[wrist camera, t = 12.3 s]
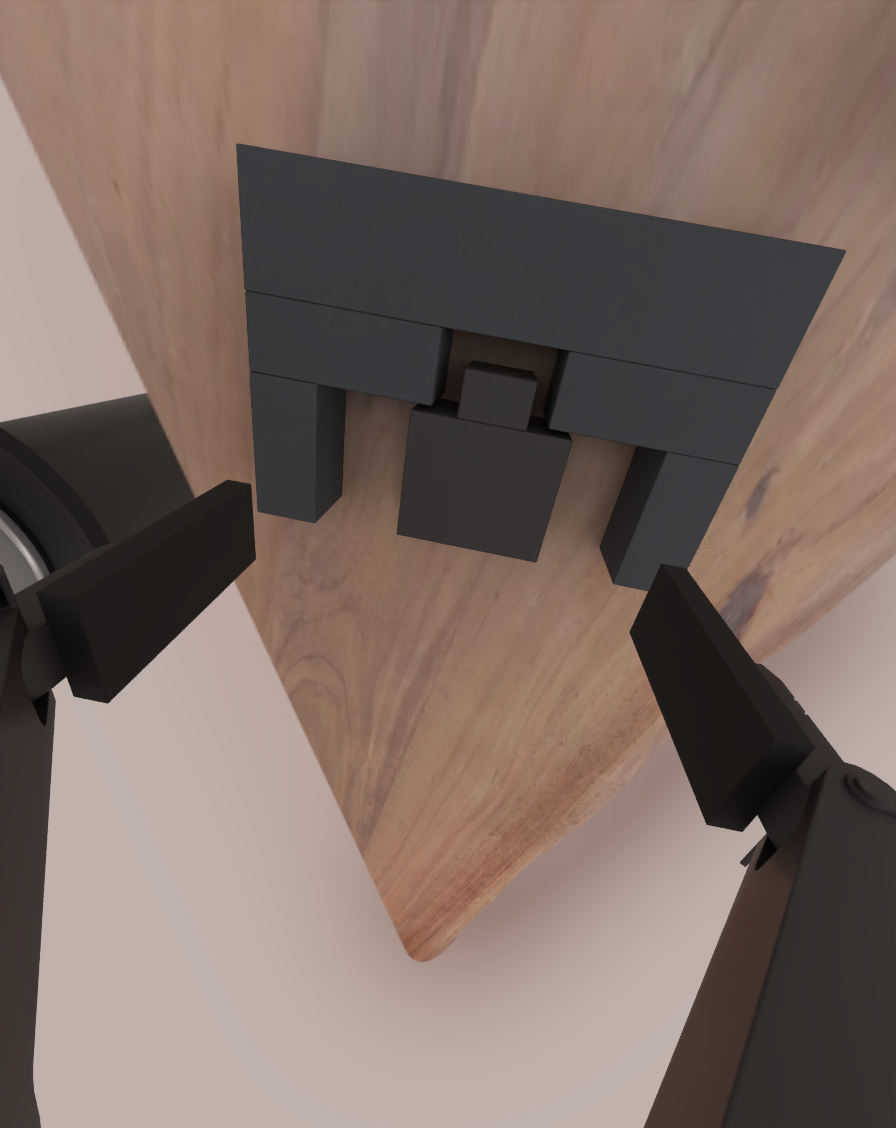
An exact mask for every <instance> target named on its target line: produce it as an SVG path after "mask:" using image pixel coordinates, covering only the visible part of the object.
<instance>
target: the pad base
mask: <svg viewBox="0 0 896 1128" xmlns="http://www.w3.org/2000/svg"><path fill="white" fill-rule="evenodd" d="M236 149H237V166H238V183H239V200H240V217H241V235H242V252H243V269H244V286H245V290H247V291H246V292H245V296H246V314H247V331H248V348H249V365H250V371H251V372H250V388H251V405H252V422H253V440H254V457H255V474H256V491H257V508H258V512H262V513H267V514H272V515H277V516H282V517H287V518H292V519H297V520H301V521H306V522H311V523H316V522H317V521H318V520H319V519H320V518H321V517H322V515H323V514H324V513H325V512H326V511H327V510H328V509H329V508H330V507H331V506H332V505H333V504H334V503H335V502H336V501H337V500H338V499H339V498H340V497H341V496H342V476H343V452H344V429H345V406H346V390H351V391H356V392H361V393H366V394H371V395H377V396H382V397H387V398H392V399H397V400H403V401H408V402H413V403H418V404H423V405H428V406H431V405H432V404H433V403H434V402H435V401H436V400H437V399H438V398H439V397H440V396H441V395H442V394H443V393H444V390H445V383H446V377H447V370H448V363H449V356H450V349H451V343H452V336H453V329H455V330H461V331H466V332H472V333H477V334H482V335H488V336H493V337H498V338H504V339H509V340H514V341H520V342H525V343H530V344H536V345H541V346H547V347H552V348H557V349H559V352H558V355H557V359H556V363H555V367H554V371H553V375H552V379H551V383H550V387H549V390H548V394H547V398H546V402H545V406H544V410H543V412H544V415H545V418H546V421H547V424H548V427H549V429H552V430H558V431H563V432H568V433H573V434H578V435H584V436H589V437H594V438H599V439H604V440H609V441H615V442H620V443H625V444H630V445H635V446H637V449H636V451H635V454H634V457H633V459H632V462H631V465H630V467H629V470H628V473H627V476H626V478H625V481H624V484H623V486H622V489H621V492H620V494H619V497H618V500H617V502H616V505H615V508H614V510H613V513H612V516H611V518H610V521H609V524H608V526H607V529H606V532H605V534H604V537H603V540H602V542H601V545H600V550H601V553H602V556H603V558H604V561H605V563H606V566H607V569H608V571H609V574H610V577H611V579H612V582H613V584H616V585H620V586H625V587H630V588H635V589H640V590H645V591H649V589H650V587H651V585H652V582H653V580H654V578H655V576H656V574H657V572H658V569H659V567H660V565H661V563H662V564H667V565H672V566H677V567H682V568H686V569H688V567H689V565H690V563H691V561H692V559H693V557H694V555H695V553H696V551H697V549H698V547H699V545H700V543H701V541H702V539H703V537H704V535H705V533H706V531H707V529H708V527H709V525H710V523H711V521H712V519H713V517H714V515H715V513H716V511H717V509H718V507H719V505H720V503H721V501H722V499H723V497H724V495H725V493H726V491H727V489H728V487H729V485H730V483H731V481H732V479H733V477H734V475H735V473H736V471H737V469H738V467H739V466H738V465H739V464H740V462H741V460H742V458H743V456H744V454H745V452H746V450H747V448H748V446H749V444H750V442H751V440H752V438H753V436H754V434H755V432H756V430H757V428H758V426H759V424H760V422H761V420H762V418H763V416H764V414H765V412H766V410H767V408H768V406H769V404H770V402H771V400H772V398H773V396H774V394H775V392H776V390H775V389H777V388H778V387H779V385H780V383H781V381H782V379H783V377H784V375H785V373H786V371H787V369H788V367H789V365H790V363H791V361H792V359H793V357H794V355H795V353H796V351H797V349H798V347H799V345H800V343H801V341H802V339H803V337H804V335H805V333H806V331H807V329H808V327H809V325H810V323H811V321H812V319H813V317H814V315H815V313H816V311H817V309H818V307H819V305H820V303H821V301H822V299H823V297H824V295H825V293H826V291H827V289H828V287H829V285H830V283H831V281H832V279H833V277H834V275H835V273H836V271H837V269H838V267H839V265H840V263H841V261H842V259H843V257H844V255H845V253H846V251H845V250H842V249H836V248H830V247H825V246H819V245H813V244H808V243H802V242H796V241H790V240H785V239H779V238H773V237H768V236H762V235H756V234H751V233H745V232H739V231H733V230H728V229H722V228H716V227H711V226H705V225H699V224H694V223H688V222H682V221H677V220H671V219H665V218H659V217H654V216H648V215H642V214H637V213H631V212H625V211H620V210H614V209H608V208H603V207H597V206H591V205H585V204H580V203H574V202H568V201H563V200H557V199H551V198H546V197H540V196H534V195H528V194H523V193H517V192H511V191H506V190H500V189H494V188H489V187H483V186H477V185H472V184H466V183H460V182H454V181H449V180H443V179H437V178H432V177H426V176H420V175H415V174H409V173H403V172H397V171H392V170H386V169H380V168H375V167H369V166H363V165H358V164H352V163H346V162H341V161H335V160H329V159H323V158H318V157H312V156H306V155H301V154H295V153H289V152H284V151H278V150H272V149H266V148H261V147H255V146H249V145H244V144H236Z"/></svg>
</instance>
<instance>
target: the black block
mask: <svg viewBox="0 0 896 1128" xmlns="http://www.w3.org/2000/svg"><path fill="white" fill-rule="evenodd" d="M537 385H538V382H537V380H536V377H535V375H534V372H532V371H527V370H522V369H516V368H511V367H506V366H500V365H495V364H490V363H484V362H479V361H472V362H471V364H470V365H469V366H468V367H467V368H466V369H465V372H464V378H463V384H462V390H461V396H460V402H456V401H450V400H445V399H440V398H438V399H437V400H436V401H435V402H434V403H433V404H432V405H431V406H428V405H423V404H417V405H416V406H415V407H414V408H413V409H412V410H411V413H410V422H409V431H408V440H407V448H406V457H405V466H404V475H403V484H402V493H401V501H400V510H399V519H398V528H397V534H398V535H403V536H408V537H413V538H418V539H423V540H427V541H432V542H437V543H442V544H447V545H452V546H457V547H462V548H467V549H472V550H477V551H482V552H487V553H492V554H497V555H502V556H507V557H512V558H517V559H522V560H527V561H531V562H537V559H538V556H539V552H540V549H541V546H542V542H543V539H544V536H545V532H546V529H547V526H548V522H549V519H550V515H551V512H552V509H553V505H554V502H555V499H556V495H557V492H558V489H559V485H560V482H561V479H562V475H563V472H564V469H565V465H566V462H567V459H568V455H569V452H570V449H571V445H572V439H571V437H570V435H569V433H568V432H563V431H558V430H552V429H549V427H548V424H547V421H546V419H544V418H539V417H534V416H530V414H531V410H532V406H533V402H534V397H535V393H536V389H537Z"/></svg>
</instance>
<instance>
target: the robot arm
mask: <svg viewBox="0 0 896 1128" xmlns="http://www.w3.org/2000/svg"><path fill="white" fill-rule="evenodd" d="M254 560H256V554H255V538H254V522H253V507H252V491H251V484H247V483H242V482H237V481H232V480H226V481H224V482H223V483H221V484H219V485H218V486H216V487H214V488H212V489H211V490H209V491H207V492H206V493H204V494H202V495H201V496H199V497H197V498H195V499H194V500H192V501H190V502H189V503H187V504H185V505H183V506H182V507H180V508H178V509H177V510H175V511H173V512H172V513H170V514H168V515H166V516H165V517H163V518H161V519H160V520H158V521H156V522H155V523H153V524H151V525H149V526H148V527H146V528H144V529H143V530H141V531H139V532H138V533H136V534H134V535H132V536H131V537H129V538H127V539H126V540H124V541H122V540H120V541H116V542H113V543H110V544H107V545H104V546H101V547H97V548H96V549H94V550H92V551H90V552H88V553H87V554H85V555H83V556H81V557H80V558H79V560H74V561H73V562H71V563H69V564H67V565H65V566H64V568H63V569H58V570H57V571H55V570H54V568H53V565H52V563H51V561H50V559H49V558H48V556H47V554H46V552H45V551H44V549H43V548H42V546H41V545H40V543H39V542H38V541H37V539H36V538H35V537H34V535H33V534H32V533H31V532H30V530H29V529H28V528H27V527H26V526H25V525H24V523H23V522H22V521H21V520H20V519H19V518H18V517H17V516H16V515H15V514H14V513H13V512H12V511H11V510H10V509H9V508H8V507H6V506H5V505H4V504H3V503H2V502H1V501H0V1128H41V1125H40V1116H39V1112H38V1108H37V1102H36V1098H35V1094H34V1084H33V1057H34V1042H35V1024H36V1010H37V994H38V993H37V992H38V977H39V962H40V946H41V929H42V913H43V897H44V896H43V895H44V881H45V864H46V849H47V848H46V847H47V832H48V816H49V800H50V784H51V766H52V752H53V735H54V719H55V703H56V701H55V698H54V695H53V692H52V690H51V689H52V688H53V687H54V686H56V685H57V684H58V683H59V682H61V681H62V680H63V679H64V678H65V677H67V679H68V682H69V685H70V687H71V690H72V693H73V696H74V697H79V698H83V699H89V700H93V701H98V702H103V703H109V702H110V701H111V700H112V699H113V698H114V697H115V696H116V695H117V694H118V693H119V692H120V691H121V690H122V689H123V688H124V687H125V686H126V685H127V684H128V683H129V682H130V681H131V680H132V679H133V678H135V677H136V676H137V674H139V673H140V672H141V671H142V670H143V669H144V668H145V667H146V666H147V665H148V664H149V663H150V662H151V661H152V660H153V659H154V658H155V657H156V656H157V655H158V654H159V653H160V652H161V651H162V650H163V649H164V648H165V647H166V646H167V645H168V644H169V643H170V642H171V641H172V640H174V639H175V638H176V637H177V636H178V635H179V634H180V633H181V632H182V631H183V629H185V628H186V627H187V626H188V625H189V624H190V623H191V622H192V621H193V620H194V619H195V618H196V617H197V616H198V615H199V614H200V613H201V612H202V611H203V610H204V609H205V608H206V607H207V606H208V605H209V604H210V603H211V602H212V601H213V600H215V598H217V597H218V596H219V595H220V594H221V593H222V592H223V591H224V590H225V589H226V588H227V587H228V586H229V585H230V584H231V583H232V582H233V581H234V580H235V579H236V578H237V577H238V576H239V575H240V574H241V573H242V572H243V571H244V570H245V569H246V568H247V567H248V566H249V565H250V564H251V563H252V562H253V561H254ZM630 635H631V637H632V640H633V642H634V645H635V647H636V650H637V652H638V655H639V657H640V660H641V662H642V665H643V667H644V670H645V672H646V675H647V677H648V680H649V682H650V685H651V687H652V690H653V692H654V695H655V697H656V700H657V702H658V705H659V707H660V710H661V712H662V715H663V717H664V720H665V722H666V725H667V727H668V730H669V732H670V735H671V737H672V740H673V742H674V745H675V747H676V750H677V752H678V755H679V757H680V760H681V762H682V764H683V767H684V770H685V772H686V775H687V777H688V780H689V782H690V785H691V787H692V789H693V792H694V795H695V797H696V800H697V802H698V805H699V807H700V810H701V812H702V815H703V817H704V819H705V822H706V824H707V825H711V826H716V827H720V828H726V829H730V830H736V831H740V832H743V831H744V830H745V828H746V827H747V826H748V825H749V824H750V822H751V821H752V820H753V819H754V818H755V817H756V816H757V815H758V817H759V819H760V821H761V823H762V825H763V827H764V828H765V831H766V832H767V833H766V835H765V836H764V837H763V838H762V839H761V840H760V841H759V842H758V843H757V845H756V846H755V847H754V848H753V849H752V850H751V851H750V852H749V853H748V854H747V855H746V856H745V857H744V858H743V860H742V861H741V862H740V863H741V864H742V865H744V866H745V867H746V866H747V865H748V864H749V863H750V864H749V866H748V869H747V871H746V874H745V876H744V879H743V881H742V883H741V886H740V889H739V891H738V893H737V896H736V898H735V901H734V904H733V906H732V909H731V911H730V914H729V916H728V918H727V921H726V924H725V926H724V928H723V931H722V933H721V936H720V938H719V941H718V944H717V946H716V948H715V951H714V953H713V956H712V958H711V961H710V964H709V966H708V968H707V971H706V973H705V976H704V978H703V981H702V983H701V986H700V988H699V991H698V994H697V996H696V998H695V1001H694V1003H693V1006H692V1008H691V1011H690V1013H689V1016H688V1018H687V1021H686V1023H685V1026H684V1028H683V1031H682V1033H681V1036H680V1039H679V1041H678V1044H677V1046H676V1048H675V1051H674V1053H673V1056H672V1058H671V1061H670V1064H669V1066H668V1068H667V1071H666V1073H665V1076H664V1078H663V1081H662V1083H661V1086H660V1088H659V1091H658V1094H657V1096H656V1098H655V1101H654V1103H653V1106H652V1108H651V1111H650V1113H649V1116H648V1119H647V1121H646V1123H645V1126H644V1128H896V791H895V790H894V789H893V788H891V787H890V786H889V785H888V784H887V783H885V782H884V781H882V780H881V779H880V778H878V777H877V776H875V775H874V774H872V773H870V772H868V771H866V770H864V769H862V768H860V767H858V766H856V765H852V764H848V763H845V762H843V760H842V759H841V758H840V757H839V755H838V754H837V752H836V751H835V750H834V749H833V747H832V746H831V745H830V743H829V742H828V741H827V739H826V738H825V737H824V736H823V734H822V733H821V732H820V730H819V729H818V728H817V726H816V725H815V724H814V722H813V721H812V720H811V719H810V717H809V716H808V715H805V711H804V710H803V708H802V707H801V705H800V704H799V703H798V702H797V701H795V700H794V696H793V695H792V694H791V692H790V691H789V690H788V689H787V687H786V686H785V685H784V683H783V682H782V681H781V680H780V679H779V678H778V677H776V676H775V675H774V674H773V673H772V672H770V671H769V670H768V669H767V668H766V667H764V666H763V665H761V664H756V663H754V661H753V660H752V659H751V657H750V656H749V654H748V653H747V652H746V650H745V649H744V648H743V646H742V645H741V644H740V642H739V641H738V639H737V638H736V637H735V635H734V634H733V633H732V631H731V630H730V628H729V627H728V626H727V624H726V623H725V622H724V620H723V619H722V617H721V616H720V615H719V613H718V612H717V611H716V609H715V608H714V606H713V605H712V604H711V602H710V601H709V600H708V598H707V597H706V595H705V594H704V593H703V591H702V590H701V589H700V587H699V586H698V584H697V583H696V582H695V580H694V579H693V578H692V576H691V575H690V573H689V572H688V571H687V569H686V568H682V567H677V566H672V565H667V564H662V563H661V565H660V567H659V569H658V572H657V574H656V576H655V578H654V580H653V582H652V585H651V587H650V589H649V591H648V593H647V595H646V598H645V600H644V602H643V604H642V606H641V608H640V611H639V613H638V615H637V617H636V619H635V621H634V624H633V626H632V628H631V630H630Z"/></svg>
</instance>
